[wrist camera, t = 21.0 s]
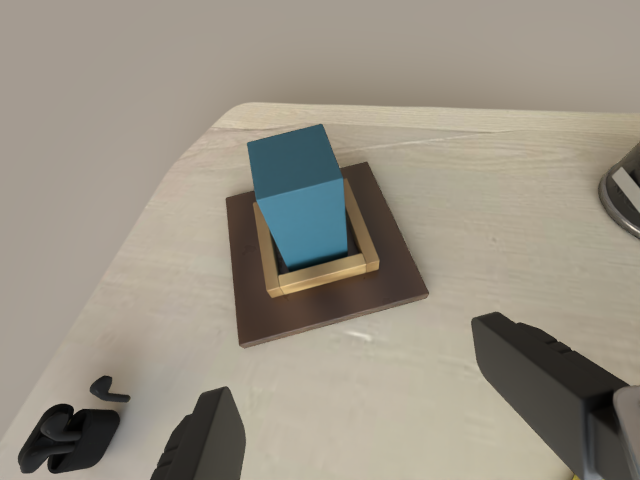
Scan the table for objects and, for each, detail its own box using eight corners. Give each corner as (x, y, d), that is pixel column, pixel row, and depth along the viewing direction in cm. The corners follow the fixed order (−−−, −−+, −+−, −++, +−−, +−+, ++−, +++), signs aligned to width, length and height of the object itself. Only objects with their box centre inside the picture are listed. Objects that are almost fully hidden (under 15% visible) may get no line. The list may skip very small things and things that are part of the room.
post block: (332, 210, 26) (322, 123, 18) (348, 257, 23) (343, 177, 16) (279, 224, 26) (246, 141, 18) (289, 272, 23) (256, 200, 16)
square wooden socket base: (366, 168, 29) (367, 148, 27) (426, 298, 22) (434, 285, 20) (229, 204, 29) (219, 186, 27) (243, 348, 22) (230, 341, 19)
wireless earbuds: (81, 509, 18) (-7, 537, 13) (50, 494, 18) (-44, 516, 14) (145, 383, 21) (90, 374, 17) (116, 374, 22) (57, 362, 17)
